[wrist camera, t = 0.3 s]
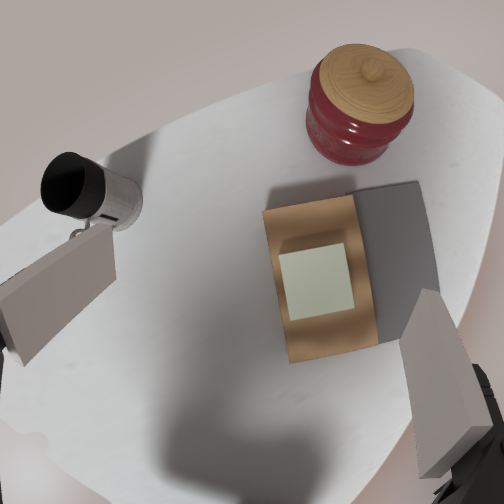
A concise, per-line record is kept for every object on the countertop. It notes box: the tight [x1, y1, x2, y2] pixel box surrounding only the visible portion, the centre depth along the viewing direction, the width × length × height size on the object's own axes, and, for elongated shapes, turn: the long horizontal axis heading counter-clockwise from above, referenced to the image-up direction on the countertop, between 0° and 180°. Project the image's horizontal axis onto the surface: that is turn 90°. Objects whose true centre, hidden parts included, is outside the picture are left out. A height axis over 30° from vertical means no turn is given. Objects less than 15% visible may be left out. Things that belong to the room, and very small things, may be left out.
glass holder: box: [41, 152, 143, 240], centre depth 40 cm, size 9×14×15 cm, turn 9°
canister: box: [306, 44, 414, 166], centre depth 36 cm, size 13×13×18 cm
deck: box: [262, 195, 378, 363], centre depth 42 cm, size 20×12×4 cm, turn 10°
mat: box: [345, 182, 440, 344], centre depth 43 cm, size 22×12×1 cm, turn 10°
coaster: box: [278, 243, 355, 321], centre depth 39 cm, size 8×8×2 cm
